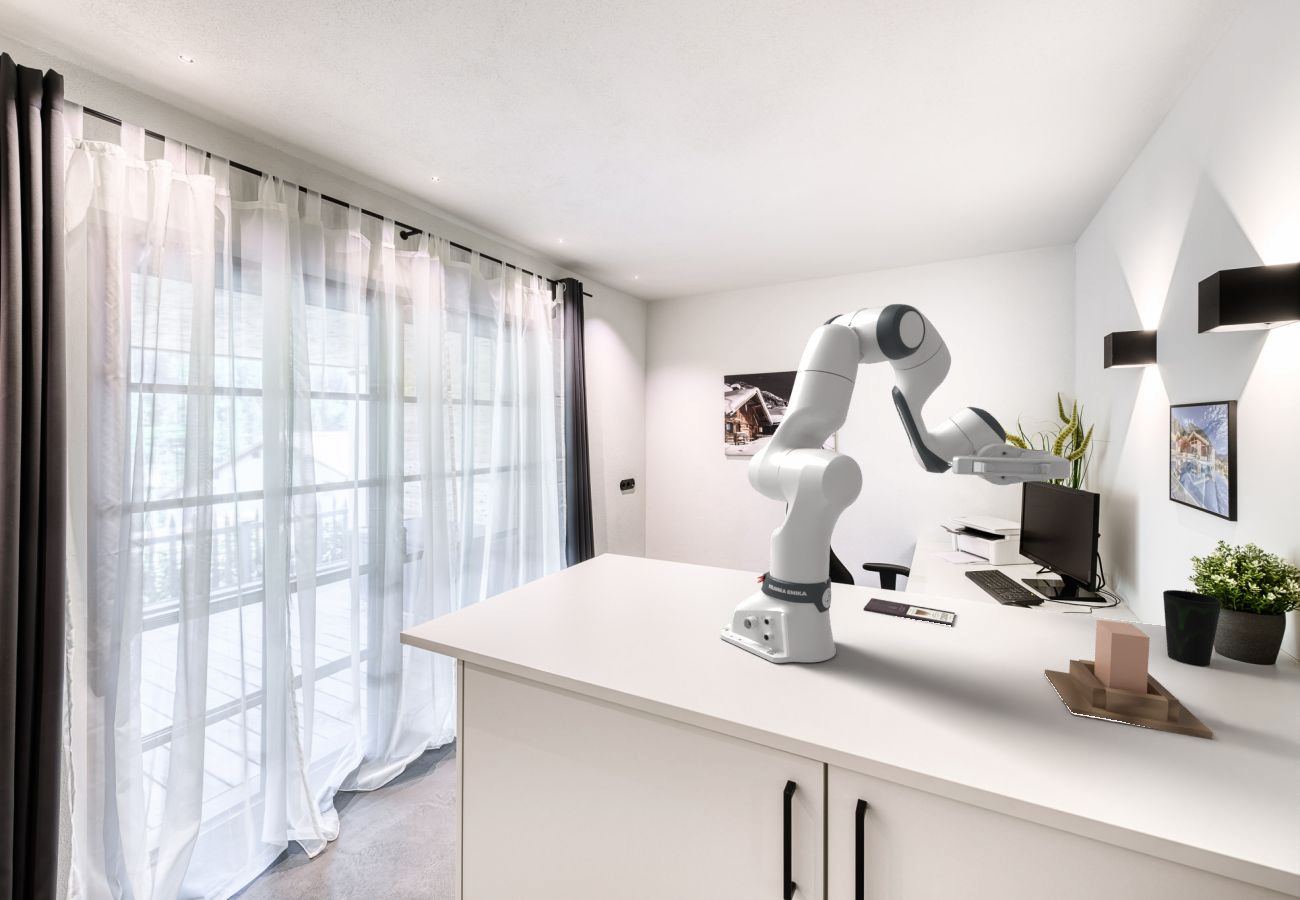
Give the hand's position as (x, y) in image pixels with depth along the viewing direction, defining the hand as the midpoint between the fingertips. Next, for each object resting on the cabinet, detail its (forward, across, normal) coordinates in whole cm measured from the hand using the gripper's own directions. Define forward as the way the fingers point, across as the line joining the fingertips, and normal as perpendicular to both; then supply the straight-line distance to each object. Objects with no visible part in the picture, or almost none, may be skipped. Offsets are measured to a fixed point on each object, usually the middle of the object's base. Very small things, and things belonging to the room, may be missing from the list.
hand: (1016, 469), depth 105 cm
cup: (-6, +30, +35) cm, 46 cm away
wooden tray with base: (+19, +11, +35) cm, 41 cm away
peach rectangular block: (+19, +11, +34) cm, 40 cm away
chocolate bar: (-13, -17, +36) cm, 42 cm away
